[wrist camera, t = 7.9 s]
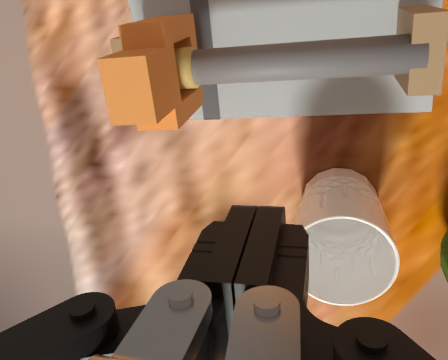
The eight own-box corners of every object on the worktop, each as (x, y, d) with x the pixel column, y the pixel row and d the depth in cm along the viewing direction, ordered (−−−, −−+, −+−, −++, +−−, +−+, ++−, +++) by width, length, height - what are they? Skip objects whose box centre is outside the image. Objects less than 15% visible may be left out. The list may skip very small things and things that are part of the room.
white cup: (309, 150, 39) (304, 202, 30) (397, 174, 38) (418, 235, 29) (286, 222, 42) (275, 287, 33) (365, 245, 41) (375, 318, 33)
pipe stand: (443, -44, 30) (479, -49, 23) (428, 108, 35) (454, 141, 28) (131, -9, 36) (84, -5, 29) (153, 118, 41) (117, 147, 34)
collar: (193, 13, 33) (140, 27, 24) (203, 102, 36) (160, 147, 26) (156, 16, 34) (91, 31, 24) (169, 104, 36) (116, 148, 27)
